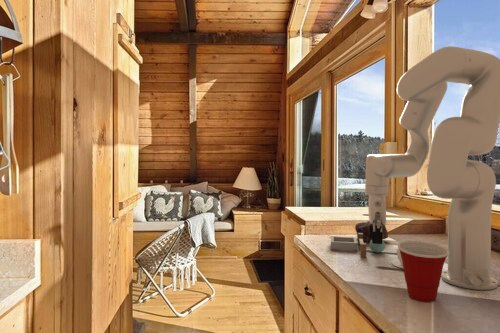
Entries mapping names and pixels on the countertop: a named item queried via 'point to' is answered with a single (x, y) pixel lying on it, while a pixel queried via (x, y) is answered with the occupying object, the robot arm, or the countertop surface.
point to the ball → (377, 247)
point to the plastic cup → (422, 268)
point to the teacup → (399, 261)
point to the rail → (361, 245)
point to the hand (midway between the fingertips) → (375, 239)
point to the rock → (368, 231)
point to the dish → (344, 243)
